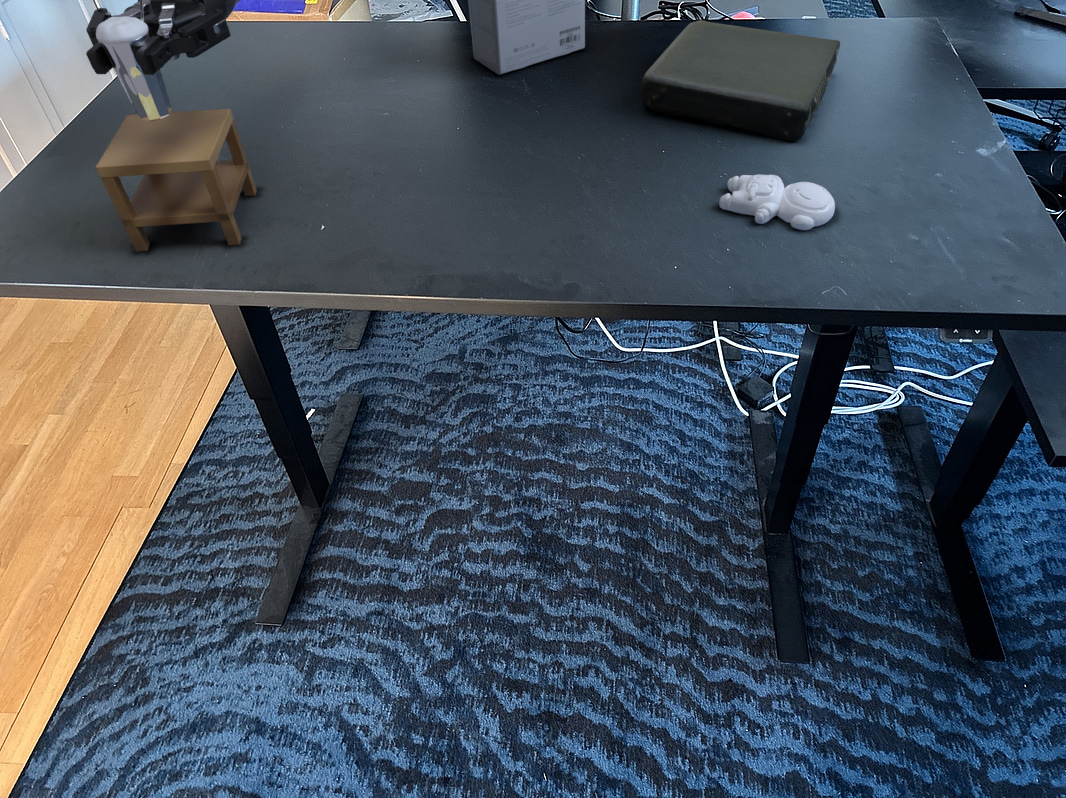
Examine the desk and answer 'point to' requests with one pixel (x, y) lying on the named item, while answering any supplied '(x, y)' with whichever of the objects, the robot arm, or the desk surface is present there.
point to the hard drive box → (525, 31)
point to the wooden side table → (177, 172)
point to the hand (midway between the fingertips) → (119, 64)
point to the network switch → (742, 78)
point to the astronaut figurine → (779, 200)
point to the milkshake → (134, 65)
